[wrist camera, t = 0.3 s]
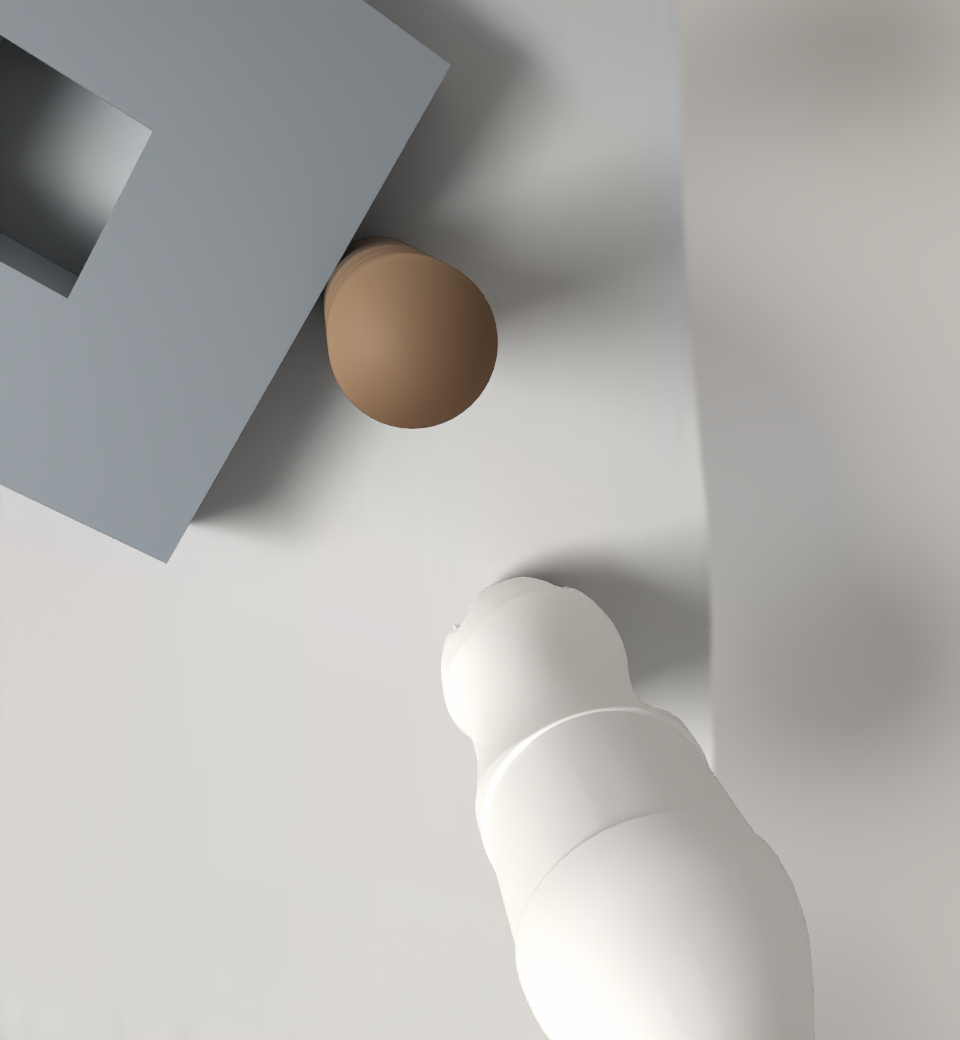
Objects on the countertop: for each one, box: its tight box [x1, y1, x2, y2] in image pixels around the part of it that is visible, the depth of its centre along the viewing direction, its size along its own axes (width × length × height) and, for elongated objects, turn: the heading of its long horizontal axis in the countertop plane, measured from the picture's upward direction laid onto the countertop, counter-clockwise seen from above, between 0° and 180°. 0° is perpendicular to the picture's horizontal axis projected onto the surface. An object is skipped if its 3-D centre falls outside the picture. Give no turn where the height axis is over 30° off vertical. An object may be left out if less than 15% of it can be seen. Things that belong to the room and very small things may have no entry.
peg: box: [322, 237, 498, 429], centre depth 27 cm, size 4×4×12 cm
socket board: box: [0, 0, 451, 564], centre depth 28 cm, size 18×18×4 cm
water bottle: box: [441, 577, 815, 1040], centre depth 27 cm, size 7×7×25 cm
